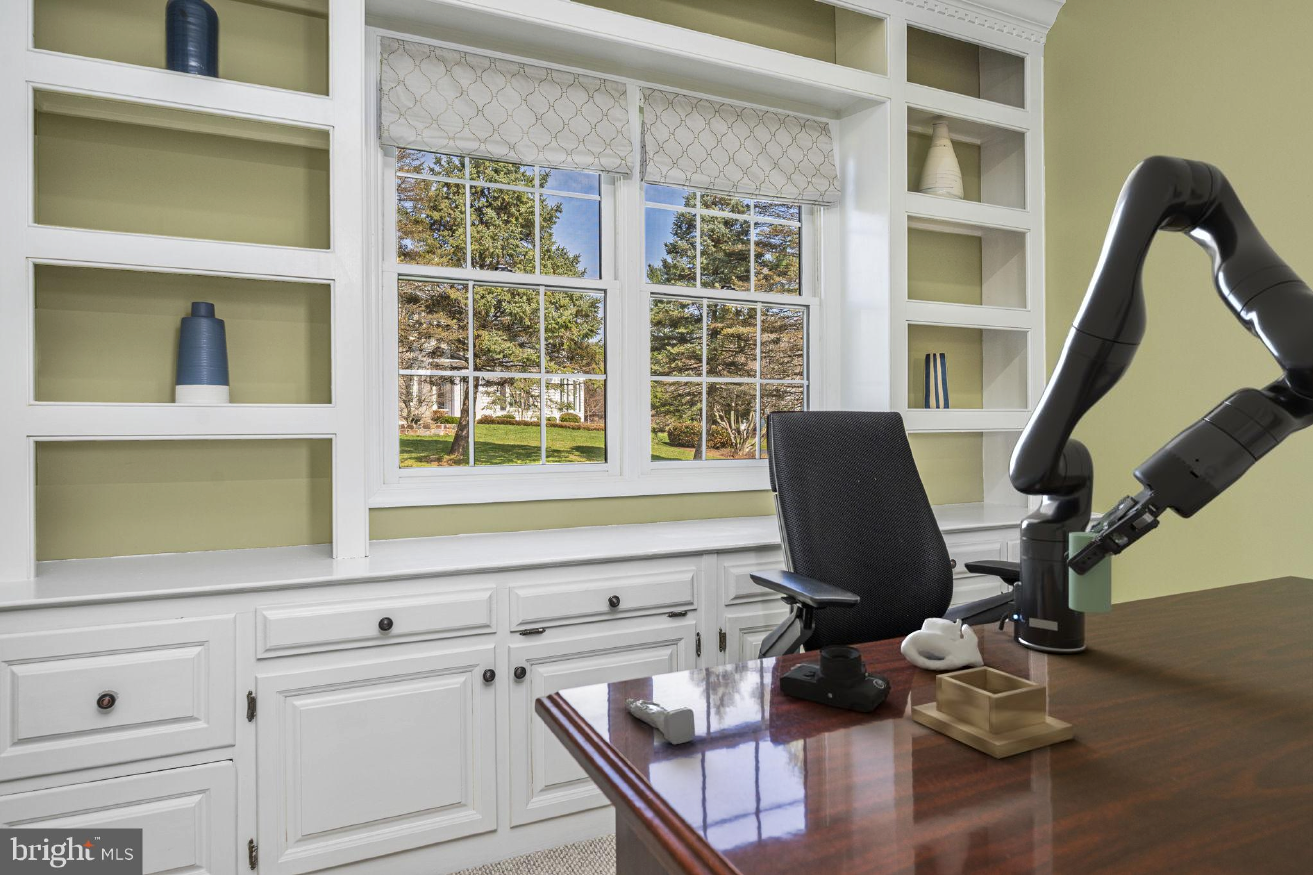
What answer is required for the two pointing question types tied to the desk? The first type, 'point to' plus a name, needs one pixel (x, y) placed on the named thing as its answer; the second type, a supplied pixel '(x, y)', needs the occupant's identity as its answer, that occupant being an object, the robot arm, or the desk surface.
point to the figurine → (665, 720)
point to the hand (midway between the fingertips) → (1071, 565)
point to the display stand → (992, 712)
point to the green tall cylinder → (1089, 580)
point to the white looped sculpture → (942, 646)
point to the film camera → (837, 680)
